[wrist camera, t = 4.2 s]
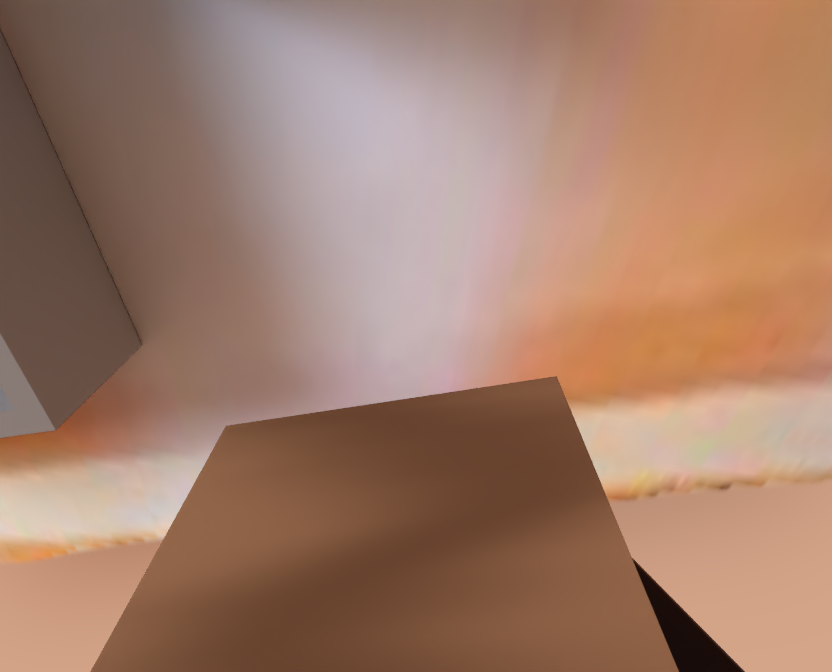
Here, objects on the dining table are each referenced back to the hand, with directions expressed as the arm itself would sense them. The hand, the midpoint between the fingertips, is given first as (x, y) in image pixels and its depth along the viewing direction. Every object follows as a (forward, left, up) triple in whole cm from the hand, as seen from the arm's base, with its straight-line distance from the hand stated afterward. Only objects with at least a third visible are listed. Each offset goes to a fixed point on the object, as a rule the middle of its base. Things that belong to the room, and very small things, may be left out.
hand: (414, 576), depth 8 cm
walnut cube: (0, 0, -1) cm, 1 cm away
